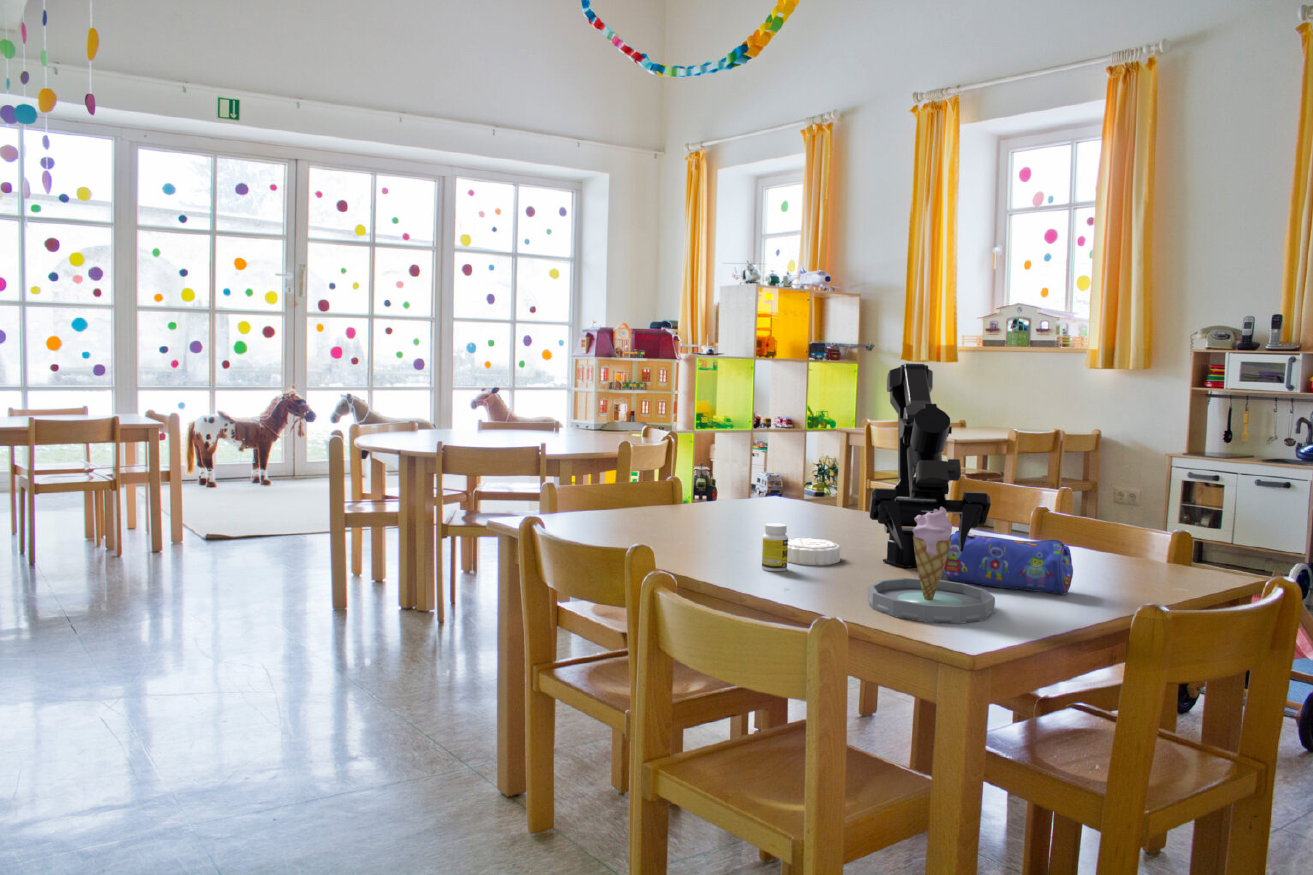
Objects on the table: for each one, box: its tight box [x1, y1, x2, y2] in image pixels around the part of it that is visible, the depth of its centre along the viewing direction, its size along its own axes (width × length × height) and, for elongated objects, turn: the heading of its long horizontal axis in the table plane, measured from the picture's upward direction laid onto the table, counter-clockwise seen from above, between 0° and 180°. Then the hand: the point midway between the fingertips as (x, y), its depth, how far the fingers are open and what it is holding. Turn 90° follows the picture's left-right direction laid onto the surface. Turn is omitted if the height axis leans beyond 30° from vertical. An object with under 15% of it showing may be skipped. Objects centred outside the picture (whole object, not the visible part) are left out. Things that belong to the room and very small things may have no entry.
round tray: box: [867, 577, 996, 624], centre depth 154 cm, size 19×19×2 cm
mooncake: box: [787, 537, 841, 566], centre depth 191 cm, size 12×12×4 cm
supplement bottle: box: [761, 522, 789, 572], centre depth 180 cm, size 5×5×8 cm
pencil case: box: [943, 529, 1074, 595], centre depth 170 cm, size 22×9×10 cm, turn 59°
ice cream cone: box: [913, 507, 953, 600], centre depth 153 cm, size 7×6×15 cm
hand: (931, 548), depth 154 cm, fingers open, 9 cm apart
